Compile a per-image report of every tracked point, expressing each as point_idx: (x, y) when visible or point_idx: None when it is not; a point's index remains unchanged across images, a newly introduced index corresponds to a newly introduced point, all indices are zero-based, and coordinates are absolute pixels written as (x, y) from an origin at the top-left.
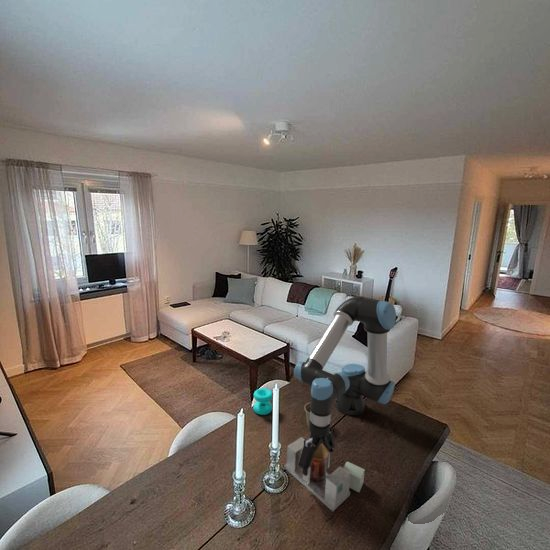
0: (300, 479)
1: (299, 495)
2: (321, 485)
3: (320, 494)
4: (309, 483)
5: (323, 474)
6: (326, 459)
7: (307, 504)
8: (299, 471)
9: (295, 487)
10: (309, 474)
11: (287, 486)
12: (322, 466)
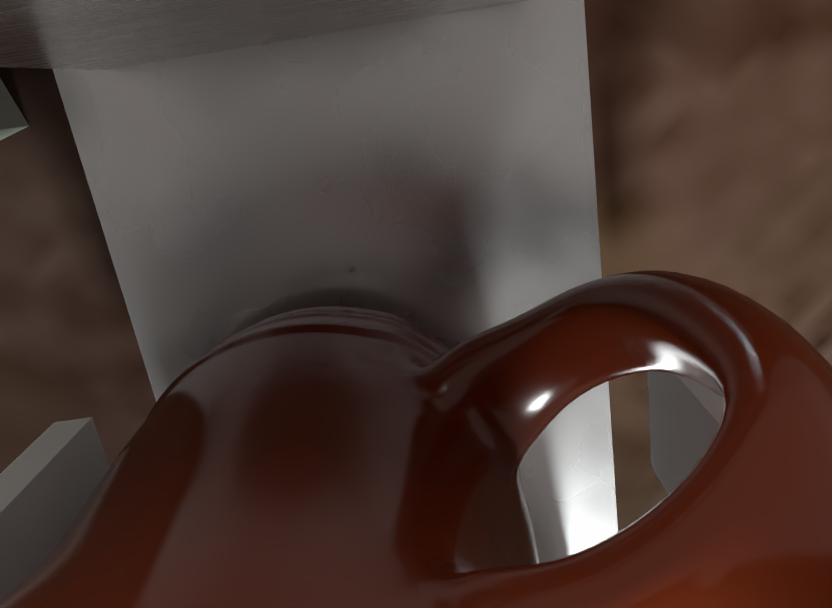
0: (610, 486)
1: (769, 299)
2: (407, 227)
3: (554, 90)
4: None
5: (296, 334)
6: (59, 601)
7: (791, 111)
8: None
9: None
10: None
11: None
12: (303, 458)
